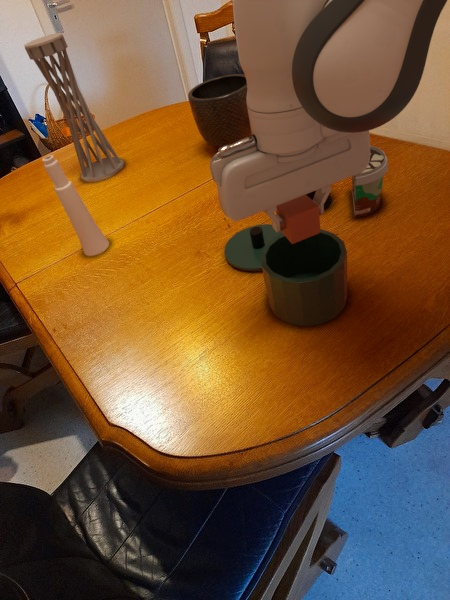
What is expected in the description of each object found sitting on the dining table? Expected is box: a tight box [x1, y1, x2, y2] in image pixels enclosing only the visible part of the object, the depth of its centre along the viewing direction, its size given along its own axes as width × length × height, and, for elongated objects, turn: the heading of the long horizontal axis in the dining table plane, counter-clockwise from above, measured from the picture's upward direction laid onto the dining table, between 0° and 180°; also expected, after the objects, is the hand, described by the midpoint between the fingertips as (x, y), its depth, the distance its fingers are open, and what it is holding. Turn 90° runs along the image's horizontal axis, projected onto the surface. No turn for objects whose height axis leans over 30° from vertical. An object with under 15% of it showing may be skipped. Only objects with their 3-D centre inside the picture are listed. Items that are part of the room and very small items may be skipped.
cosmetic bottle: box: [42, 154, 110, 257], centre depth 85 cm, size 6×6×22 cm
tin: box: [261, 228, 348, 327], centre depth 64 cm, size 13×13×10 cm
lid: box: [224, 223, 283, 272], centre depth 77 cm, size 14×14×5 cm
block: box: [275, 194, 321, 244], centre depth 56 cm, size 4×4×4 cm
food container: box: [351, 145, 389, 219], centre depth 79 cm, size 12×6×10 cm, turn 171°
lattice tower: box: [23, 32, 125, 183], centre depth 111 cm, size 14×13×35 cm
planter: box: [187, 73, 252, 151], centre depth 110 cm, size 17×17×16 cm
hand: (298, 220), depth 57 cm, fingers closed on block, 4 cm apart
